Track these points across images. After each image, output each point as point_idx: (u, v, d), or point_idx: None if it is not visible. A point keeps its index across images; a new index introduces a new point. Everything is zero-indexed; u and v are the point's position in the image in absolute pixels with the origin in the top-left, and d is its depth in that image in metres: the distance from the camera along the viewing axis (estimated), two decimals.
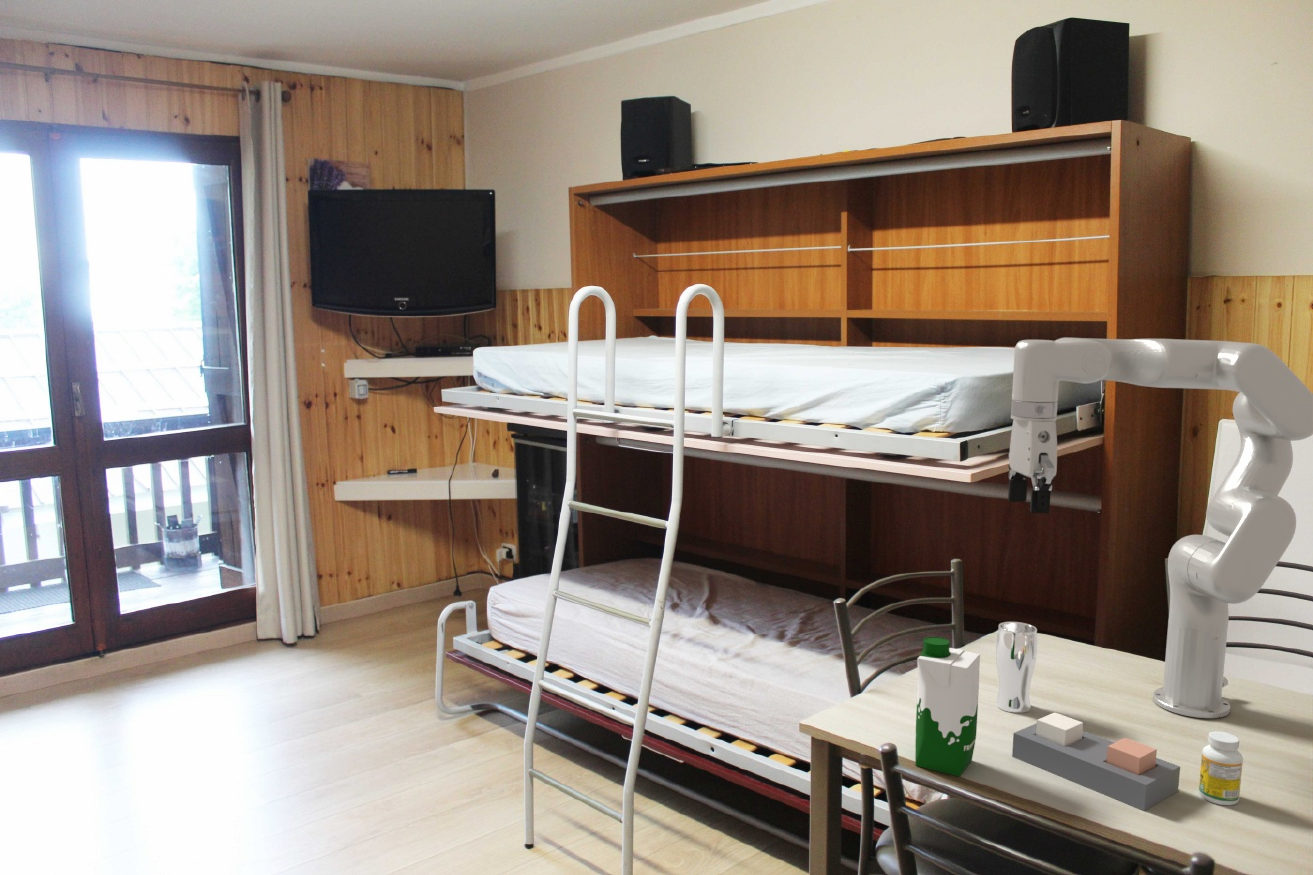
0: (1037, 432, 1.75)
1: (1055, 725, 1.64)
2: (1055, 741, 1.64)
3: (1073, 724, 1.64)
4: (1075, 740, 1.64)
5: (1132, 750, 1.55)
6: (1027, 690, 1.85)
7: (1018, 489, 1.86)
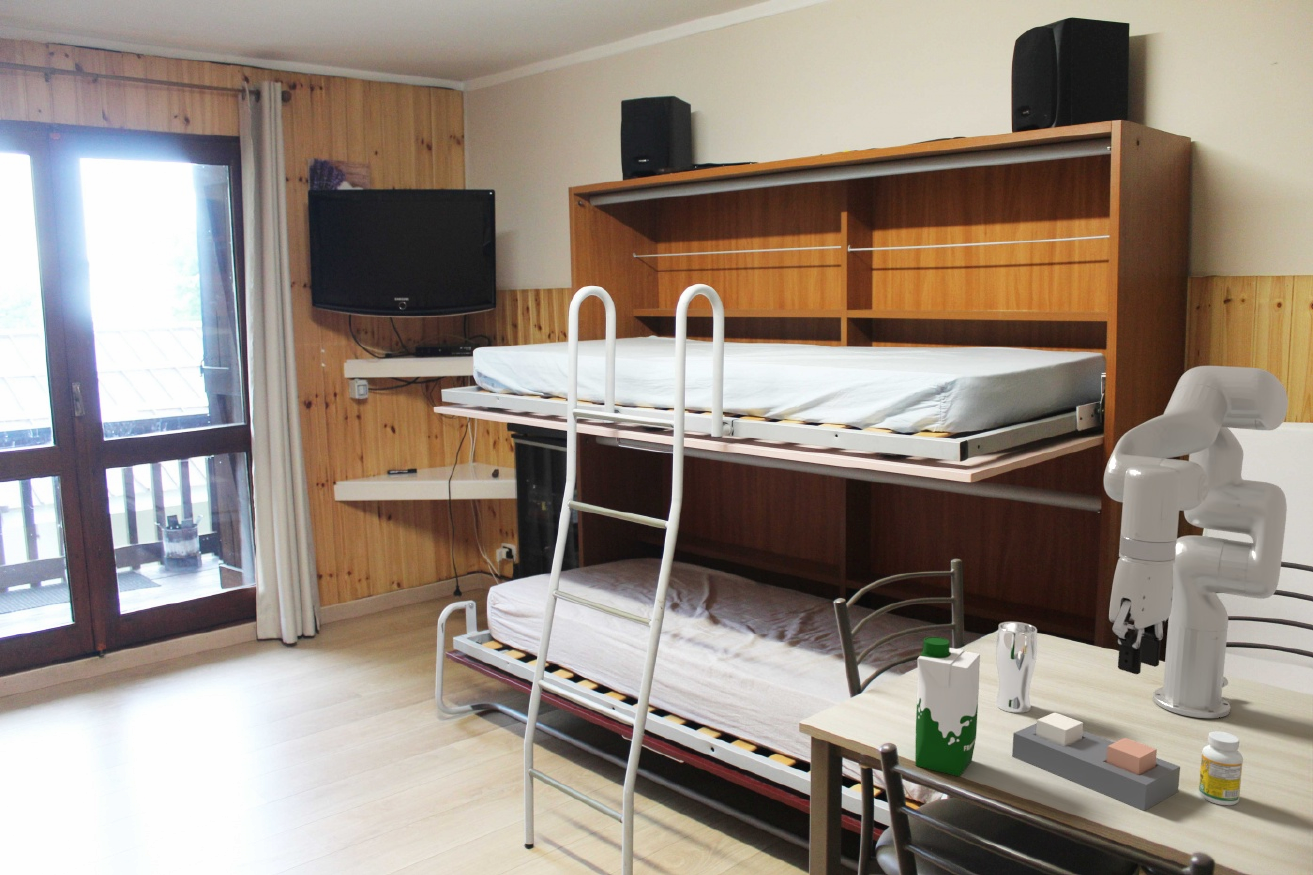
0: None
1: (1055, 725, 1.64)
2: (1055, 741, 1.64)
3: (1073, 724, 1.64)
4: (1075, 740, 1.64)
5: (1132, 750, 1.55)
6: (1027, 690, 1.85)
7: None
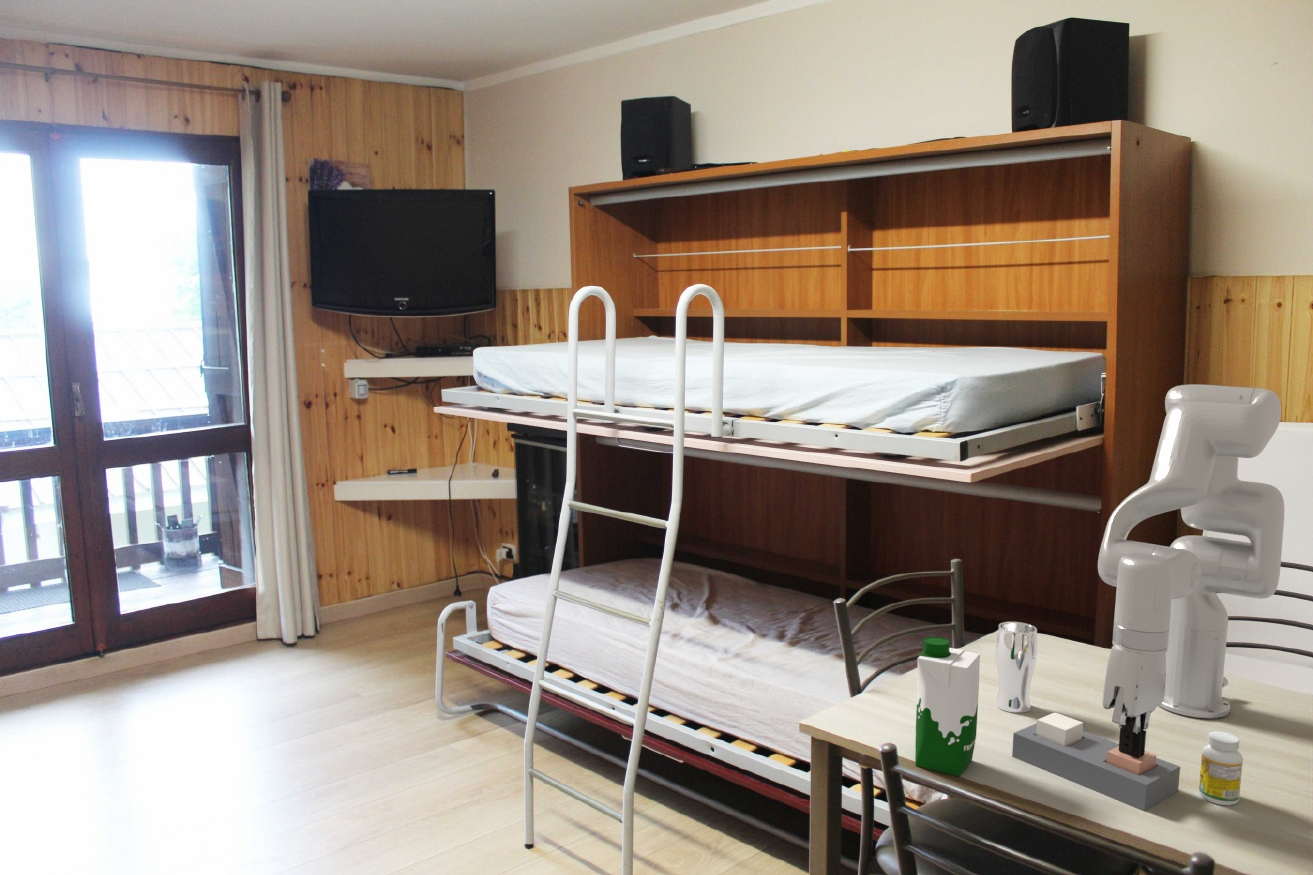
0: None
1: (1055, 725, 1.64)
2: (1055, 741, 1.64)
3: (1073, 724, 1.64)
4: (1075, 740, 1.64)
5: (1131, 756, 1.55)
6: (1027, 690, 1.85)
7: None
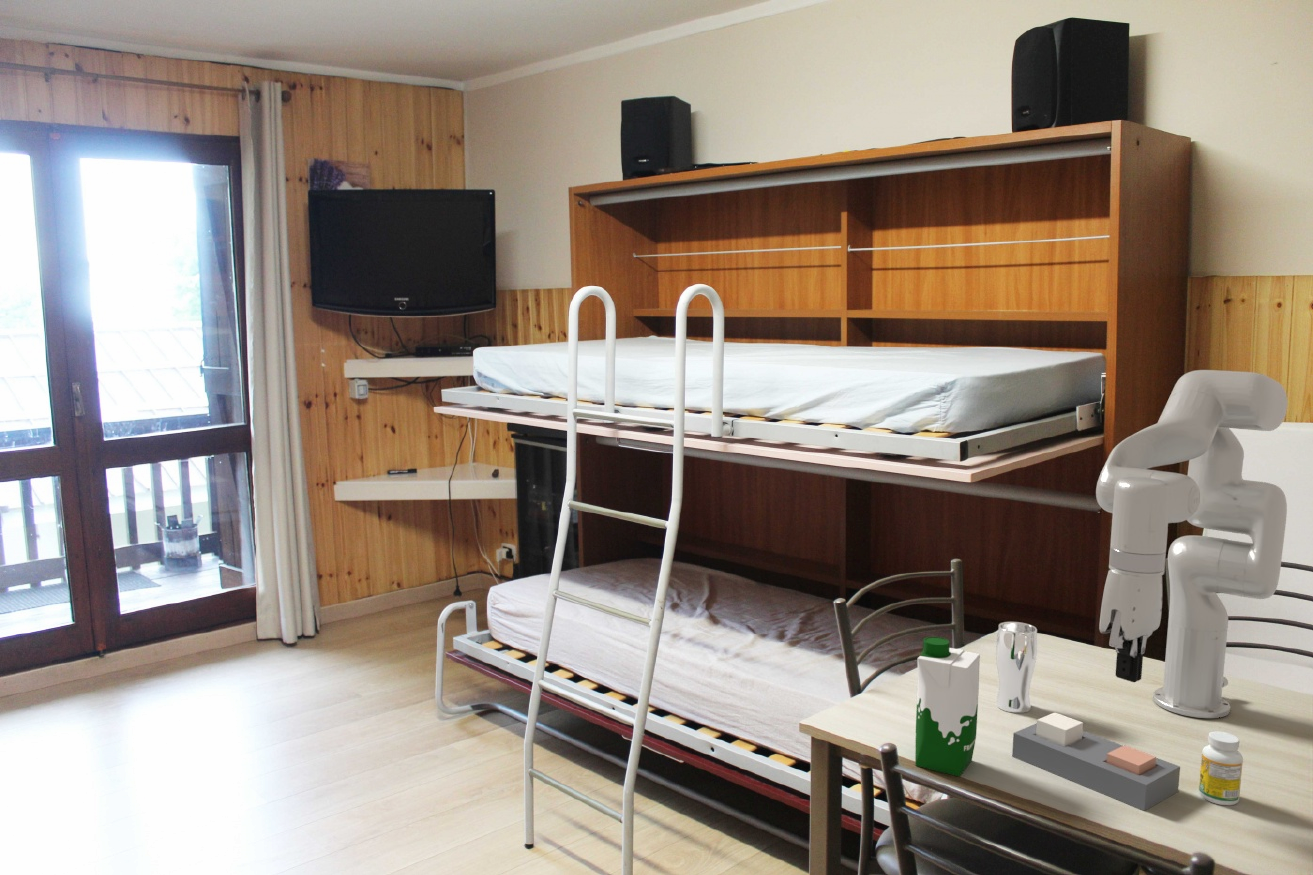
0: None
1: (1055, 725, 1.64)
2: (1055, 741, 1.64)
3: (1073, 724, 1.64)
4: (1075, 740, 1.64)
5: (1131, 758, 1.55)
6: (1027, 690, 1.85)
7: None
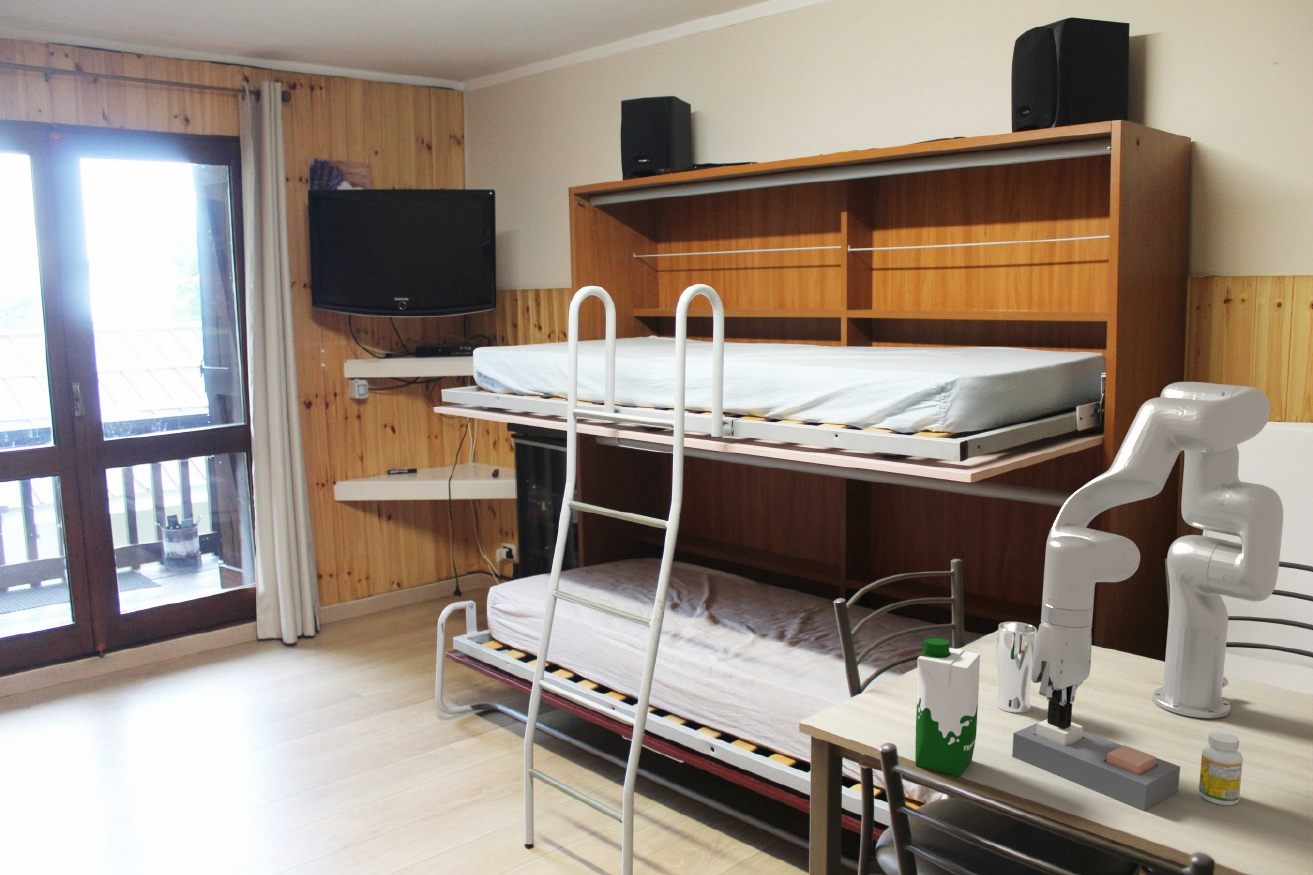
0: None
1: (1055, 728, 1.64)
2: None
3: (1073, 728, 1.64)
4: None
5: (1131, 758, 1.55)
6: (1027, 690, 1.85)
7: None
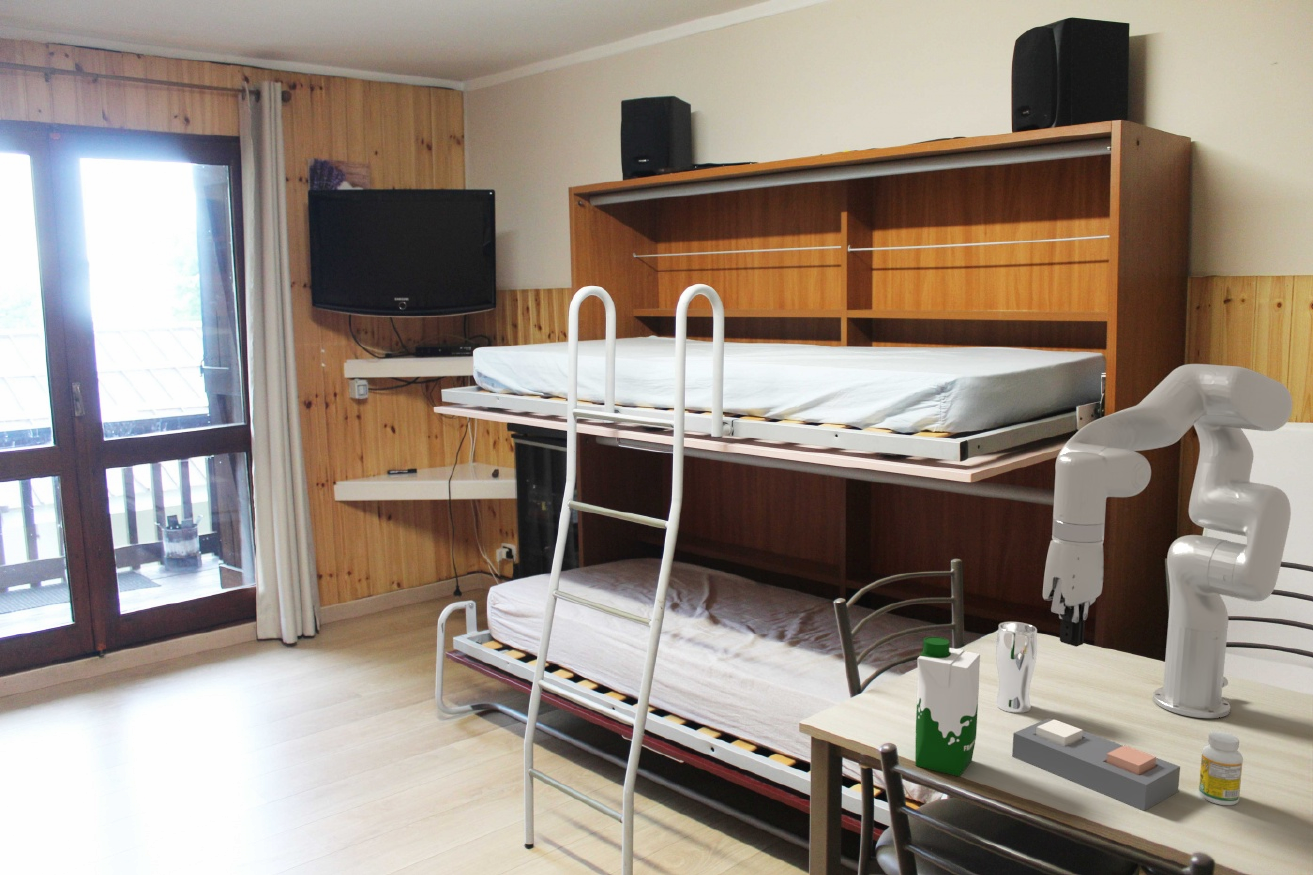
0: None
1: (1055, 732, 1.64)
2: None
3: (1073, 731, 1.64)
4: None
5: (1131, 758, 1.55)
6: (1027, 690, 1.85)
7: None
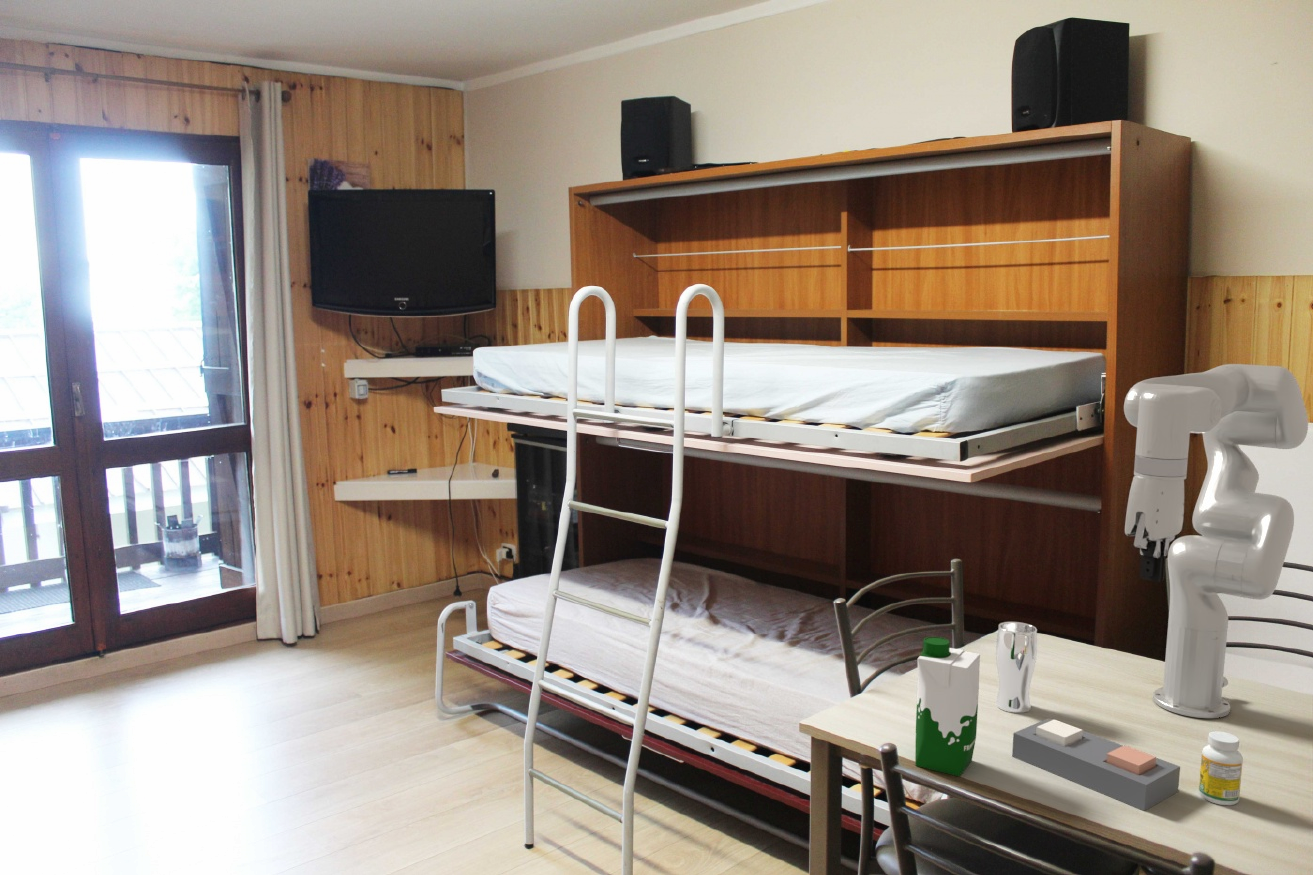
0: None
1: (1055, 732, 1.64)
2: None
3: (1073, 731, 1.64)
4: None
5: (1131, 758, 1.55)
6: (1027, 690, 1.85)
7: None
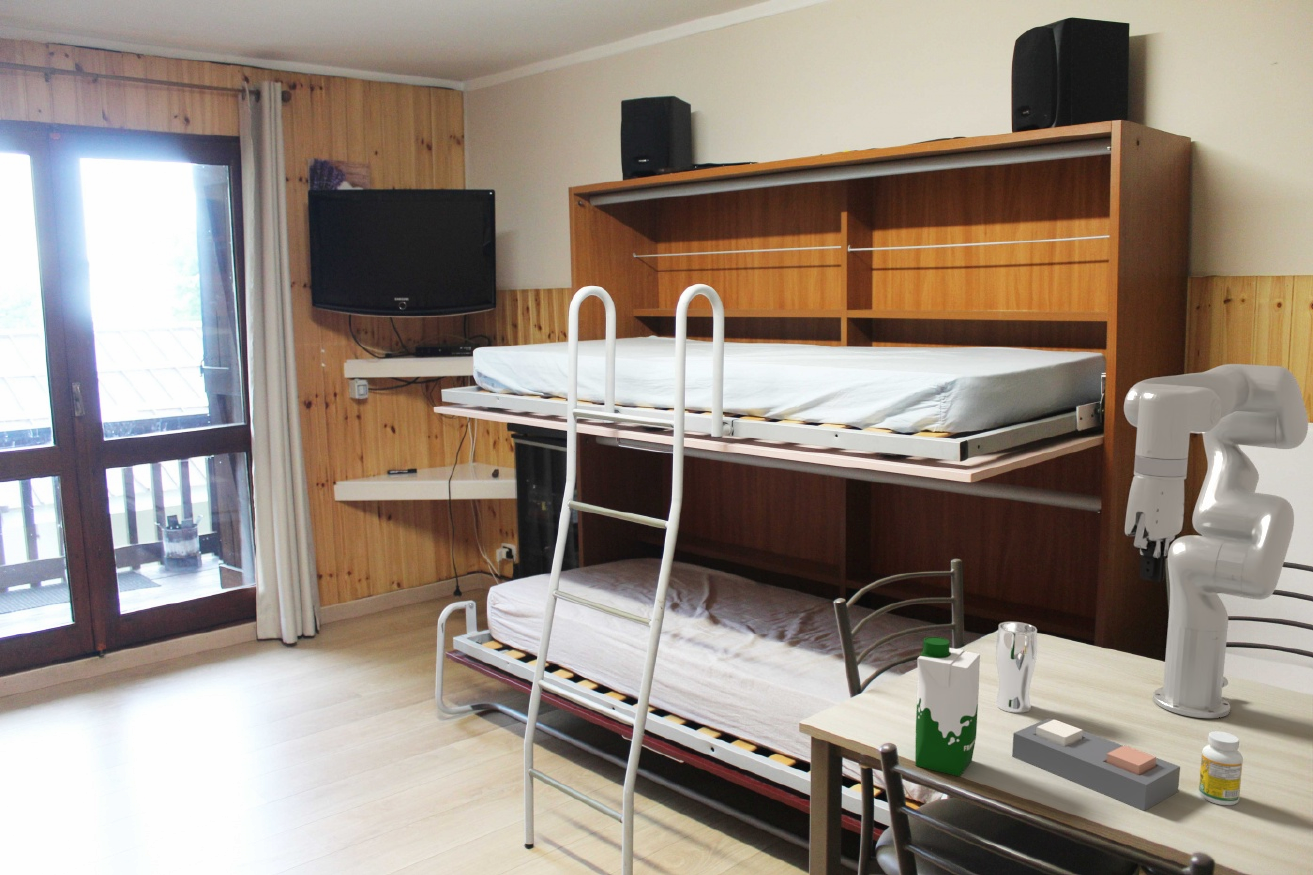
0: None
1: (1055, 732, 1.64)
2: None
3: (1073, 731, 1.64)
4: None
5: (1131, 758, 1.55)
6: (1027, 690, 1.85)
7: None
